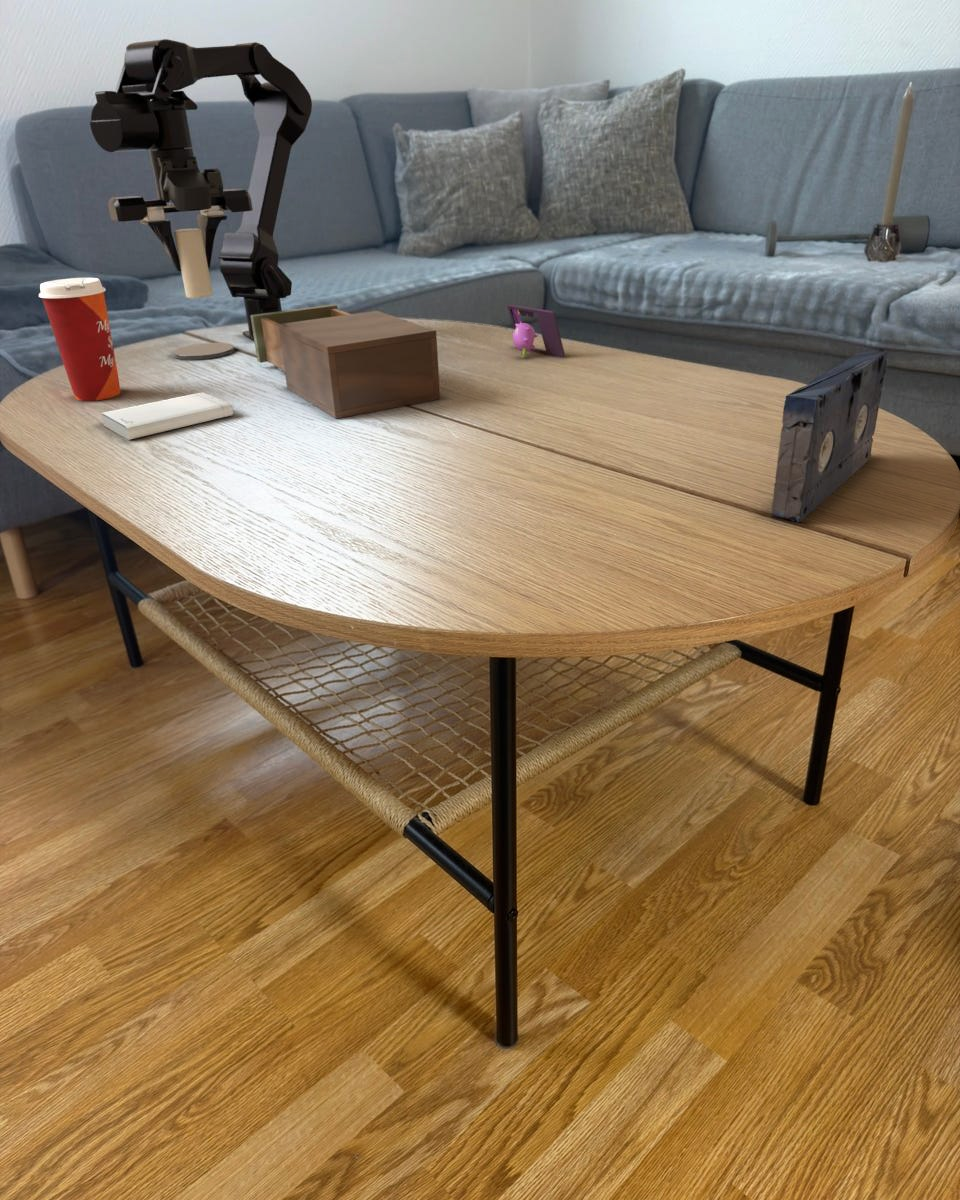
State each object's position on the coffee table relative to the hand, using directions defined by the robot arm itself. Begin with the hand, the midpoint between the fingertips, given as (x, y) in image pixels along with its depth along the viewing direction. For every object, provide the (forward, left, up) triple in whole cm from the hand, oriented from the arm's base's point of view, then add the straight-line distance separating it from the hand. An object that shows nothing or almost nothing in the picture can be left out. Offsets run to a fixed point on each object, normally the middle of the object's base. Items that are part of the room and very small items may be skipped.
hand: (193, 269), depth 126 cm
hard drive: (+33, -14, -12) cm, 38 cm away
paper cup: (+15, -19, -12) cm, 27 cm away
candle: (+1, 0, -4) cm, 4 cm away
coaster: (-1, -1, -12) cm, 12 cm away
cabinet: (+36, +9, -12) cm, 39 cm away
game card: (+32, +37, -12) cm, 51 cm away
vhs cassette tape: (+90, +30, -12) cm, 96 cm away
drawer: (+20, +9, -11) cm, 25 cm away
